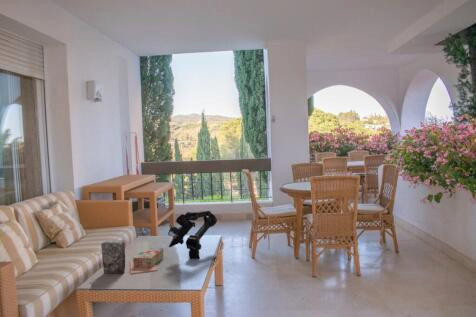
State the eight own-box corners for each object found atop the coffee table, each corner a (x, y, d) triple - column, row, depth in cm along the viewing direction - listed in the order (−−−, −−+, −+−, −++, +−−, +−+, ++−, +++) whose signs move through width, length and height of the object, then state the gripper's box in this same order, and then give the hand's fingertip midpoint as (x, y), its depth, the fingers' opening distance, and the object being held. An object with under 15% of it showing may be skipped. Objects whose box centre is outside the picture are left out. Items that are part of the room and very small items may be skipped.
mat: (154, 258, 260) (154, 257, 260) (157, 270, 235) (157, 269, 235) (130, 261, 255) (130, 260, 255) (130, 274, 231) (130, 273, 230)
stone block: (102, 274, 231) (100, 242, 230) (106, 270, 238) (105, 239, 237) (123, 274, 231) (121, 242, 230) (127, 270, 238) (125, 239, 237)
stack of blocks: (163, 257, 260) (147, 256, 262) (163, 248, 260) (146, 247, 262) (151, 267, 239) (133, 267, 242) (150, 258, 239) (132, 257, 241)
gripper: (174, 218, 260) (159, 235, 257) (177, 224, 242) (161, 242, 239) (186, 228, 262) (171, 246, 260) (190, 235, 244) (174, 253, 242)
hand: (169, 246), depth 250 cm, fingers closed
